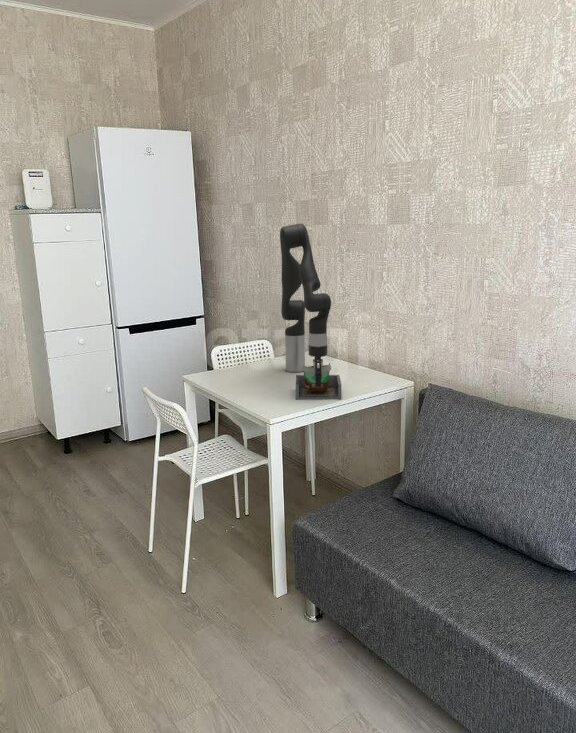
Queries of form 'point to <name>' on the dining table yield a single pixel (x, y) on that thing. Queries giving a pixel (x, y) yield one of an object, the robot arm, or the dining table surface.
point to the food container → (310, 377)
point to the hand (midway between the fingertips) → (318, 384)
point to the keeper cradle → (329, 393)
